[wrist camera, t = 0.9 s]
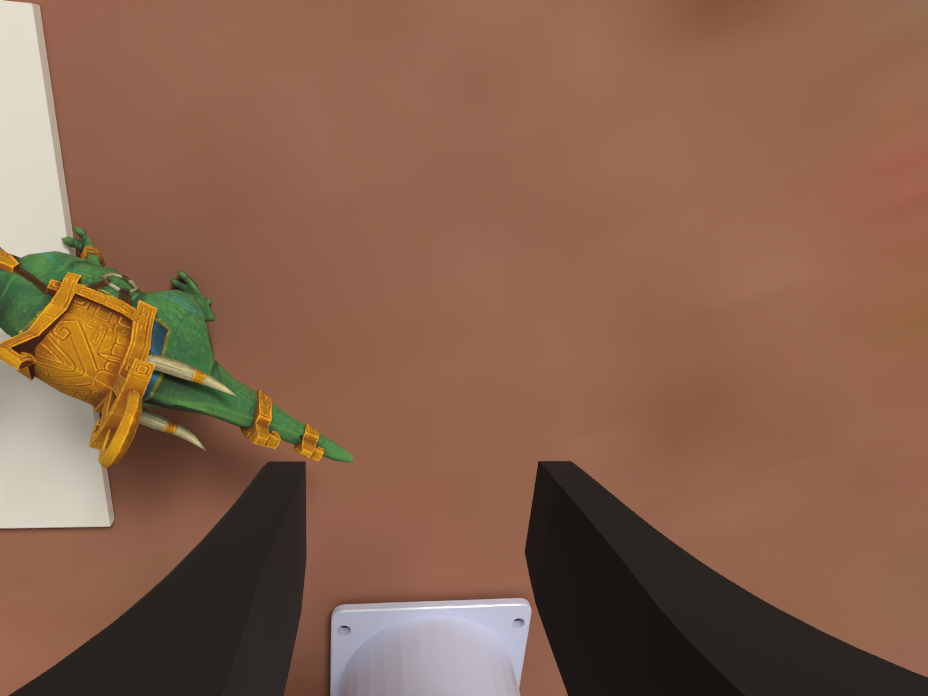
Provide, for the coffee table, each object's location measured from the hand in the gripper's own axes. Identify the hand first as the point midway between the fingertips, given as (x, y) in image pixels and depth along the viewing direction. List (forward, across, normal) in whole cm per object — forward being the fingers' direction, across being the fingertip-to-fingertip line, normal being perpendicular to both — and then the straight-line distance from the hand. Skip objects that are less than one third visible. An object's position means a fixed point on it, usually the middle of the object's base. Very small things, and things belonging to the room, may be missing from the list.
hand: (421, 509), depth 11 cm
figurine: (+10, +7, 0) cm, 13 cm away
